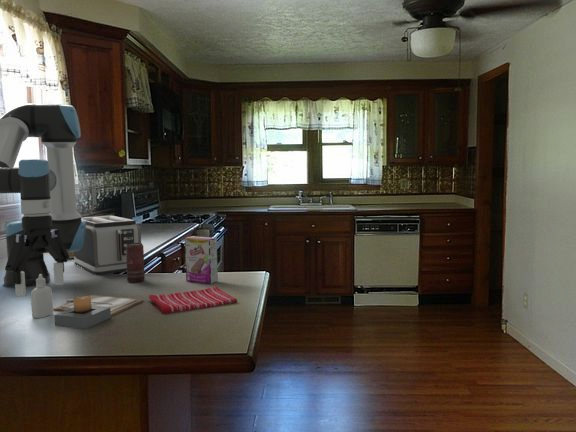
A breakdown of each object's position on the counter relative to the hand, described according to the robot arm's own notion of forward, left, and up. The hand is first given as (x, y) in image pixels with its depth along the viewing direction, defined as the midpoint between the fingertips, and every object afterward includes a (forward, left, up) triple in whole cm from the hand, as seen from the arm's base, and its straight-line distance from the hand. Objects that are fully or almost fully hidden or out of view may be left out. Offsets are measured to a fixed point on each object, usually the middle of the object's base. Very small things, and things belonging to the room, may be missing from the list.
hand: (40, 289), depth 136 cm
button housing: (+15, -1, -8) cm, 17 cm away
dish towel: (+34, +25, -8) cm, 43 cm away
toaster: (-28, +64, -8) cm, 70 cm away
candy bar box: (+24, +50, -8) cm, 56 cm away
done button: (+15, -1, -4) cm, 15 cm away
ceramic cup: (-60, +76, -8) cm, 98 cm away
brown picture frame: (+9, +13, -8) cm, 18 cm away
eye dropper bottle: (0, 0, -8) cm, 8 cm away
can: (0, +44, -8) cm, 45 cm away
